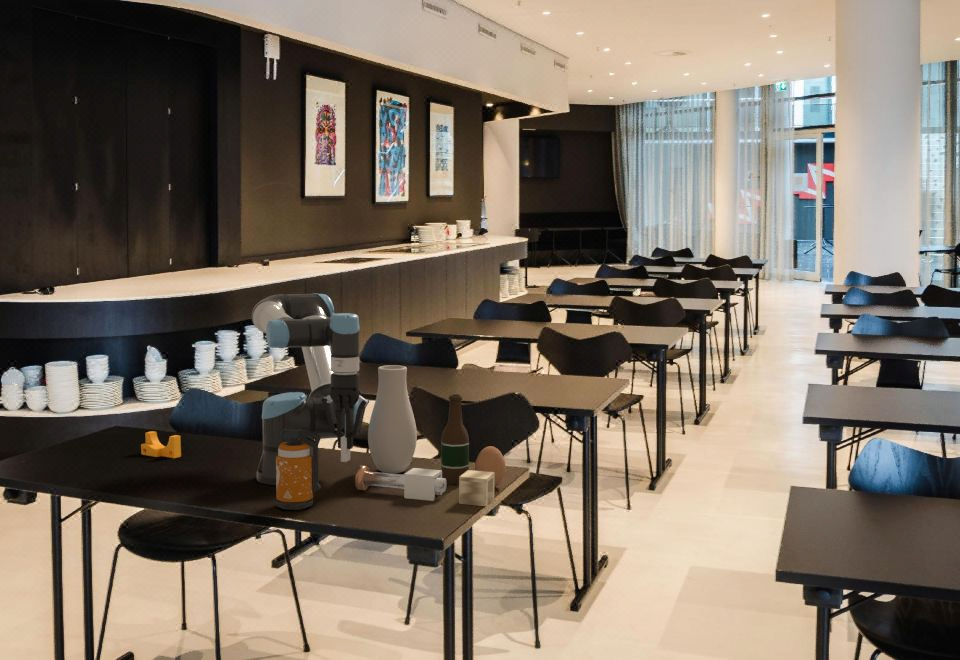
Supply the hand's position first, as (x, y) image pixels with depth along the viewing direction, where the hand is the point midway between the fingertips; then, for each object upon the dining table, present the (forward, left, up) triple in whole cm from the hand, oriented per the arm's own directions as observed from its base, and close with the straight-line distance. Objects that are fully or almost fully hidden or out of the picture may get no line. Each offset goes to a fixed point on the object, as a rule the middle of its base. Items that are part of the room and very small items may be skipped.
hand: (345, 460), depth 275 cm
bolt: (+16, 0, -8) cm, 18 cm away
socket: (+36, 0, -8) cm, 37 cm away
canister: (-4, -19, -8) cm, 21 cm away
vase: (+5, +21, -8) cm, 23 cm away
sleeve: (+22, 0, -8) cm, 23 cm away
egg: (+36, +14, -8) cm, 39 cm away
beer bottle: (+25, +17, -8) cm, 31 cm away
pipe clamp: (-68, +17, -8) cm, 70 cm away
